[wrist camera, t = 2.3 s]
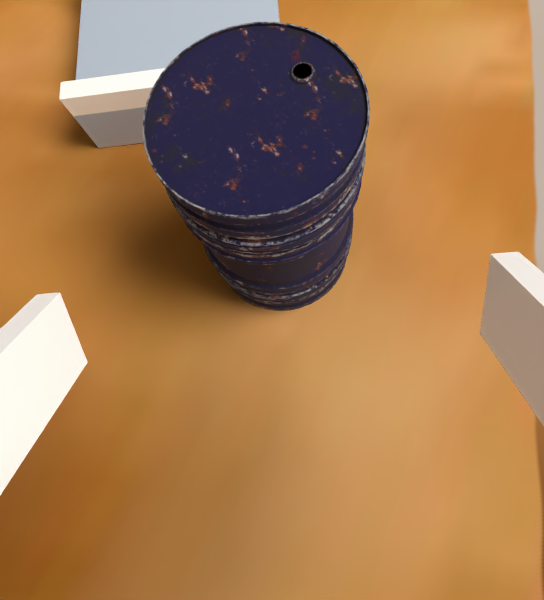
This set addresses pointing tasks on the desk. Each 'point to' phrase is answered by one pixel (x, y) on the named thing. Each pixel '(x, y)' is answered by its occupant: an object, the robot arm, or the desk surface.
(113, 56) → the tray
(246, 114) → the rusty blue oil drum
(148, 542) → the desk surface
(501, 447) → the desk surface
